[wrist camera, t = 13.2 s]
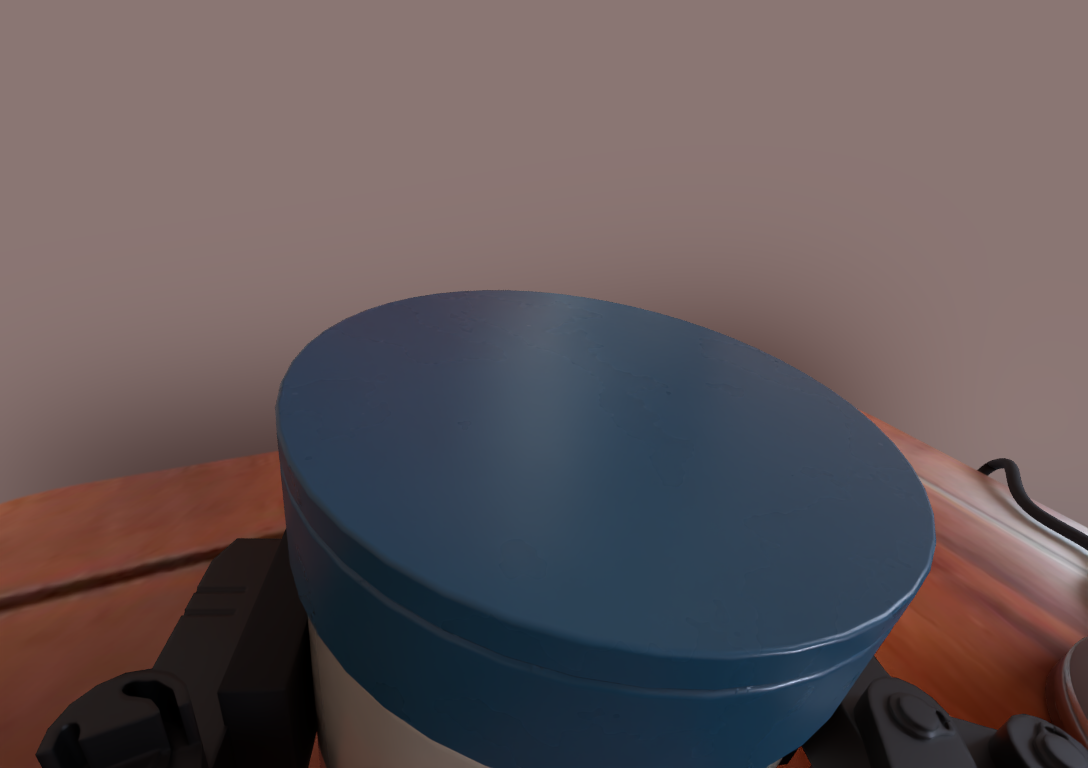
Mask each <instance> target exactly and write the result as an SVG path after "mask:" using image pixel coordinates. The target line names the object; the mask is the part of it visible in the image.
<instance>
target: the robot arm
mask: <svg viewBox="0 0 1088 768" xmlns="http://www.w3.org/2000/svg"><path fill="white" fill-rule="evenodd" d="M1000 468H1004V469H1005V472H1006V478H1007V483H1008V487H1009V490H1010V492H1011V494H1012V496H1013V498H1014V499H1015V501H1016V502H1017V504H1018V505H1019V506H1020V507H1021V508H1022V509H1023V510H1024V511H1025V512H1026V513H1028V514H1029V515H1030V516H1031V517H1033V518H1034V519H1036V520H1037V521H1038V522H1040V523H1042V524H1043V525H1045V526H1047V527H1048V528H1050V529H1052V530H1053V531H1055V532H1057V533H1059V534H1061V535H1062V536H1064V537H1066V538H1068V539H1069V540H1071V541H1073V542H1075V543H1076V544H1078V545H1080V546H1081V547H1083V548H1085V549H1086V550H1088V536H1087V535H1086V534H1084V533H1082V532H1080V531H1078V530H1077V529H1075V528H1073V527H1071V526H1069V525H1067V524H1066V523H1064V522H1062V521H1060V520H1058V519H1057V518H1055V517H1053V516H1051V515H1050V514H1048V513H1047V512H1045V511H1043V510H1042V509H1041V508H1039V507H1038V506H1037V505H1035V504H1034V503H1033V502H1032V501H1031V500H1030V498H1029V497H1028V496H1027V494H1026V492H1025V490H1024V488H1023V485H1022V481H1021V477H1020V472H1019V469H1018V467H1017V465H1016V464H1015V463H1014V462H1013V461H1012V460H1009V459H1005V458H1000V459H996V460H992V461H989V462H987V463H985V464H984V465H983V466H981V467H980V468H979V469H978V470H977V471H979V472H981V473H983V474H985V475H987V476H988V475H989V474H990V473H992V472H994V471H995V470H997V469H1000ZM1045 692H1046V703H1047V707H1048V712H1049V715H1050V718H1051V721H1052V724H1051V723H1049V722H1047V721H1045V720H1043V719H1041V718H1038V717H1034V716H1030V715H1027V714H1019V715H1013V716H1011V717H1010V718H1009V719H1008V721H1007V722H1006V723H1005V724H1004V725H1003V726H1002V727H1001V728H1000V729H999V730H996V729H992V728H989V727H985V726H982V725H978V724H975V723H971V722H968V721H964V720H961V719H957V718H954V717H950V716H949V714H948V713H947V712H946V711H945V710H944V709H943V708H942V707H941V706H940V705H939V704H938V703H937V702H936V701H935V700H934V699H933V698H932V697H930V696H929V695H928V694H926V693H925V692H923V691H922V690H920V689H919V688H918V687H916V686H915V685H912V684H910V683H908V682H906V681H903V680H901V679H899V678H893V677H890V675H889V674H888V673H887V672H886V671H885V670H884V668H883V667H882V666H881V664H880V663H879V662H878V660H877V659H876V658H875V656H873V657H872V659H871V660H870V661H869V663H868V664H867V666H866V667H865V669H864V670H863V672H862V673H861V674H860V676H859V677H858V679H857V680H856V682H855V683H854V684H853V686H852V687H851V689H850V690H849V692H848V693H847V695H846V696H845V697H844V699H843V700H842V702H841V703H840V705H839V706H838V707H837V709H836V710H835V712H834V713H833V715H832V716H831V718H830V719H829V720H828V721H827V722H826V723H825V724H824V725H823V726H821V727H820V728H819V729H818V730H817V731H816V732H815V733H814V734H813V735H812V736H811V737H810V738H809V739H808V740H807V741H806V742H805V743H804V744H803V745H802V748H803V750H804V752H805V754H806V755H807V757H808V759H809V761H810V763H811V767H810V768H1088V637H1085V638H1083V639H1081V640H1080V641H1078V642H1077V643H1076V644H1075V645H1074V646H1073V647H1072V648H1071V649H1070V650H1069V651H1068V652H1067V653H1066V654H1065V655H1064V656H1063V657H1062V658H1061V659H1060V660H1059V661H1058V663H1057V664H1056V665H1055V666H1054V667H1053V668H1052V669H1051V671H1050V673H1049V675H1048V677H1047V681H1046V687H1045ZM316 732H317V724H316V712H315V700H314V688H313V676H312V664H311V652H310V640H309V628H308V616H307V612H306V610H305V608H304V606H303V604H302V602H301V600H300V598H299V595H298V591H297V588H296V584H295V581H294V577H293V573H292V570H291V566H290V560H289V550H288V540H287V530H285V532H284V535H283V537H282V539H244V538H237V539H236V540H235V541H234V542H233V543H231V544H230V545H229V546H228V547H227V548H226V549H225V550H224V551H222V552H221V553H220V554H219V555H218V556H217V557H216V558H215V559H213V560H212V562H211V564H210V565H209V567H208V569H207V571H206V573H205V574H204V576H203V578H202V580H201V582H200V583H199V585H198V587H197V592H196V593H194V594H193V596H192V598H191V600H190V601H189V603H188V605H187V607H186V609H185V613H184V615H183V616H181V618H180V619H179V621H178V623H177V625H176V627H175V628H174V630H173V632H172V634H171V636H170V637H169V639H168V641H167V643H166V645H165V646H164V648H163V650H162V652H161V654H160V655H159V657H158V659H157V661H156V663H155V664H154V666H153V668H152V669H146V670H140V671H134V672H128V673H124V674H122V675H120V676H117V677H115V678H113V679H110V680H108V681H106V682H103V683H101V684H99V685H97V686H95V687H94V688H92V689H91V690H90V691H88V692H87V693H85V694H84V695H83V696H81V697H80V698H78V699H77V700H76V701H74V702H73V703H71V704H70V705H69V706H68V707H67V708H66V709H65V710H64V712H63V713H62V714H61V715H60V716H59V717H58V718H57V719H56V720H55V722H54V723H53V724H52V725H51V726H50V727H49V728H48V730H47V732H46V734H45V736H44V738H43V740H42V742H41V744H40V746H39V748H38V750H37V753H36V757H37V759H38V761H39V763H40V765H41V766H42V768H308V766H309V762H310V758H311V753H312V749H313V745H314V741H315V736H316ZM797 749H798V748H797ZM797 749H795V750H794V751H792V752H790V753H789V754H787V755H786V756H784V757H783V758H782V760H781V761H780V763H779V764H778V765H785V764H788V763H789V761H790V760H791V758H792V757H793V755H794V754H795V752H796V751H797Z"/></svg>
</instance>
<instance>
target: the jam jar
mask: <svg viewBox="0 0 1088 768" xmlns="http://www.w3.org/2000/svg"><path fill="white" fill-rule="evenodd" d="M307 616H308V614H307ZM308 628H309V640H310V652H311V664H312V676H313V688H314V700H315V712H316V724H317V736H318V748H319V760H320V768H490V767H487V766H484V765H482V764H480V763H478V762H476V761H474V760H472V759H470V758H468V757H466V756H464V755H461V754H459V753H457V752H455V751H453V750H451V749H449V748H447V747H445V746H443V745H441V744H439V743H437V742H435V741H433V740H431V739H429V738H428V737H426V736H425V735H423V734H422V733H420V732H419V731H418V730H416V729H415V728H413V727H412V726H410V725H409V724H407V723H406V722H404V721H403V720H401V719H400V718H399V717H397V716H396V715H394V714H393V713H391V712H390V711H388V710H387V709H385V708H384V707H383V706H382V705H381V704H380V703H379V702H378V701H377V700H375V699H374V698H373V697H372V696H371V695H370V694H369V693H368V692H367V691H366V690H365V689H364V688H363V687H361V685H360V684H358V683H357V682H356V681H355V680H354V679H353V678H352V677H351V676H350V675H349V674H348V673H347V672H346V671H345V670H344V669H343V667H342V666H341V665H340V663H339V662H338V661H337V659H336V658H335V657H334V655H333V654H332V653H331V651H330V650H329V649H328V647H327V646H326V645H325V644H324V642H323V641H322V640H321V638H320V637H319V636H318V634H317V632H316V630H315V628H314V626H313V624H312V622H311V620H310V618H309V616H308ZM782 758H783V757H782ZM782 758H781V759H779V760H777V761H776V762H774V763H772V764H771V765H769V766H768V767H766V768H776V767H777V766H778V764H779V763H780V761H781V760H782Z"/></svg>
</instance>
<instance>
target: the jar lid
mask: <svg viewBox="0 0 1088 768" xmlns="http://www.w3.org/2000/svg"><path fill="white" fill-rule="evenodd" d="M275 410H276V426H277V439H278V449H279V459H280V468H281V480H282V490H283V500H284V510H285V520H286V530H287V540H288V550H289V560H290V566H291V570H292V573H293V577H294V581H295V584H296V588H297V591H298V595H299V598H300V600H301V602H302V604H303V606H304V608H305V610H306V612H307V614H308V616H309V618H310V620H311V622H312V624H313V626H314V628H315V630H316V632H317V634H318V636H319V637H320V638H321V640H322V641H323V642H324V644H325V645H326V646H327V647H328V649H329V650H330V651H331V653H332V654H333V655H334V657H335V658H336V659H337V661H338V662H339V663H340V665H341V666H342V667H343V669H344V670H345V671H346V672H347V673H348V674H349V675H350V676H351V677H352V678H353V679H354V680H355V681H356V682H357V683H358V684H360V685H361V687H363V688H364V689H365V690H366V691H367V692H368V693H369V694H370V695H371V696H372V697H373V698H374V699H375V700H377V701H378V702H379V703H380V704H381V705H382V706H383V707H384V708H385V709H387V710H388V711H390V712H391V713H393V714H394V715H396V716H397V717H399V718H400V719H401V720H403V721H404V722H406V723H407V724H409V725H410V726H412V727H413V728H415V729H416V730H418V731H419V732H420V733H422V734H423V735H425V736H426V737H428V738H429V739H431V740H433V741H435V742H437V743H439V744H441V745H443V746H445V747H447V748H449V749H451V750H453V751H455V752H457V753H459V754H461V755H464V756H466V757H468V758H470V759H472V760H474V761H476V762H478V763H480V764H482V765H484V766H487V767H490V768H766V767H768V766H769V765H771V764H772V763H774V762H776V761H777V760H779V759H781V758H782V757H784V756H786V755H787V754H789V753H790V752H792V751H794V750H795V749H797V748H799V747H800V746H802V745H803V744H804V743H805V742H806V741H807V740H808V739H809V738H810V737H811V736H812V735H813V734H814V733H815V732H816V731H817V730H818V729H819V728H820V727H821V726H823V725H824V724H825V723H826V722H827V721H828V720H829V719H830V718H831V716H832V715H833V713H834V712H835V710H836V709H837V707H838V706H839V705H840V703H841V702H842V700H843V699H844V697H845V696H846V695H847V693H848V692H849V690H850V689H851V687H852V686H853V684H854V683H855V682H856V680H857V679H858V677H859V676H860V674H861V673H862V672H863V670H864V669H865V667H866V666H867V664H868V663H869V661H870V660H871V659H872V657H873V656H874V654H875V653H876V651H877V650H878V649H879V647H880V646H881V644H882V643H883V641H884V640H885V638H886V637H887V636H888V634H889V633H890V631H891V629H892V628H893V626H894V625H895V623H896V622H897V621H898V620H899V618H900V617H901V615H902V614H903V613H904V611H905V610H906V608H907V607H908V605H909V604H910V603H911V601H912V600H913V598H914V597H915V595H916V593H917V592H918V590H919V588H920V587H921V585H922V584H923V582H924V580H925V579H926V577H927V575H928V574H929V572H930V569H931V565H932V560H933V555H934V551H935V546H936V534H935V523H934V513H933V511H932V508H931V505H930V502H929V499H928V496H927V493H926V490H925V488H924V486H923V485H922V483H921V481H920V479H919V478H918V476H917V474H916V473H915V471H914V469H913V467H912V466H911V464H910V463H909V462H908V460H907V459H906V458H905V457H904V455H903V454H902V453H901V452H900V450H899V449H898V448H897V447H896V445H895V444H894V443H893V442H892V441H891V440H890V439H889V438H888V437H887V436H886V435H885V434H884V433H883V432H882V431H881V430H880V429H879V428H878V427H877V426H876V425H875V424H874V423H873V422H872V421H871V420H870V419H868V418H867V417H866V416H865V415H864V414H862V413H861V412H860V411H859V410H858V409H856V408H855V407H854V406H853V405H851V404H850V403H849V402H847V401H846V400H845V399H843V398H842V397H840V396H839V395H837V394H836V393H835V392H833V391H832V390H831V389H829V388H828V387H826V386H824V385H823V384H821V383H820V382H818V381H816V380H815V379H813V378H812V377H810V376H808V375H807V374H805V373H803V372H801V371H800V370H798V369H796V368H794V367H792V366H790V365H789V364H787V363H785V362H783V361H781V360H780V359H777V358H775V357H773V356H771V355H769V354H767V353H765V352H763V351H761V350H759V349H757V348H755V347H752V346H750V345H748V344H745V343H743V342H740V341H738V340H736V339H734V338H731V337H729V336H726V335H723V334H721V333H718V332H715V331H713V330H710V329H708V328H705V327H701V326H698V325H696V324H693V323H690V322H687V321H683V320H680V319H677V318H674V317H670V316H667V315H663V314H660V313H656V312H652V311H648V310H644V309H640V308H636V307H632V306H627V305H622V304H617V303H613V302H608V301H603V300H597V299H591V298H585V297H577V296H571V295H563V294H554V293H542V292H530V291H510V290H505V291H504V290H482V291H461V292H450V293H440V294H433V295H426V296H420V297H413V298H408V299H404V300H400V301H395V302H391V303H387V304H384V305H381V306H378V307H374V308H371V309H368V310H365V311H363V312H360V313H358V314H356V315H353V316H351V317H349V318H346V319H345V320H342V321H341V322H339V323H337V324H335V325H334V326H332V327H330V328H329V329H327V330H325V331H324V332H322V333H321V334H320V335H319V336H317V337H316V338H315V339H314V340H312V341H311V342H310V343H308V344H307V345H306V346H305V347H304V349H303V350H302V351H301V352H300V353H299V354H298V355H297V357H296V358H295V359H294V360H293V361H292V363H291V365H290V367H289V368H288V371H287V373H286V374H285V376H284V378H283V380H282V382H281V384H280V389H279V393H278V398H277V402H276V407H275Z"/></svg>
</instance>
